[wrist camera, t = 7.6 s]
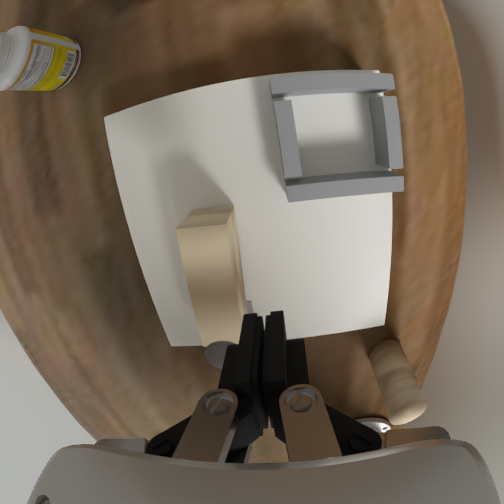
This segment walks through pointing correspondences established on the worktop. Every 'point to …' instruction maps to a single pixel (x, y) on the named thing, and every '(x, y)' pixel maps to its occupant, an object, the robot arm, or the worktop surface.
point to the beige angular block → (214, 277)
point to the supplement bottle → (36, 60)
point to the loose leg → (397, 382)
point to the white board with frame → (269, 193)
